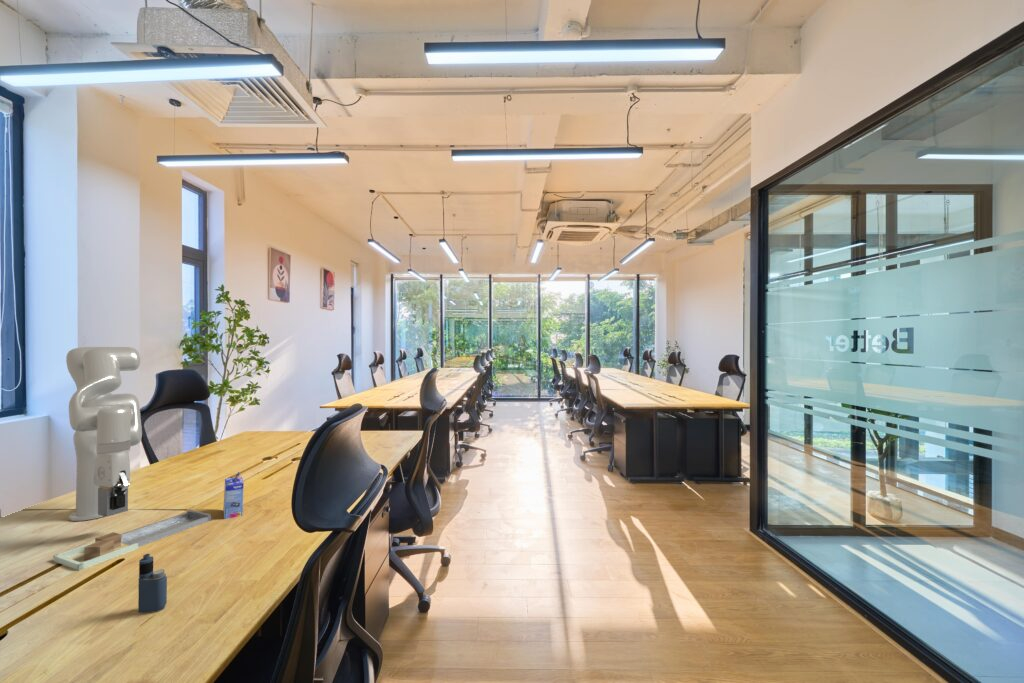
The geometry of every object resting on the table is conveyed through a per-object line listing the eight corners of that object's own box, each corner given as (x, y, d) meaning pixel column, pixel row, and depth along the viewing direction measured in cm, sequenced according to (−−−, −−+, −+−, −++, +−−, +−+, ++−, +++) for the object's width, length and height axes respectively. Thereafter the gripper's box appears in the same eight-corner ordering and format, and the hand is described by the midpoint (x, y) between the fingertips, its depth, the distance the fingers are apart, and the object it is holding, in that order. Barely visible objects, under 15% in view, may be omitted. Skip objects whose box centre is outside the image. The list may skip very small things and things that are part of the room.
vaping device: (144, 606, 91) (145, 552, 92) (169, 604, 92) (170, 551, 92) (134, 613, 89) (135, 558, 89) (160, 612, 89) (161, 556, 89)
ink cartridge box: (243, 518, 139) (244, 475, 140) (223, 522, 136) (224, 479, 136) (241, 509, 147) (242, 469, 147) (223, 513, 144) (223, 472, 144)
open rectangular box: (115, 544, 121) (115, 534, 121) (190, 518, 139) (190, 509, 139) (137, 550, 117) (137, 540, 117) (210, 523, 135) (211, 514, 135)
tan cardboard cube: (95, 552, 115) (95, 538, 115) (113, 546, 119) (113, 532, 119) (103, 554, 114) (103, 540, 114) (121, 548, 117) (121, 534, 117)
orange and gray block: (97, 514, 124) (98, 486, 124) (118, 508, 128) (118, 481, 129) (106, 516, 122) (107, 488, 122) (127, 510, 126) (127, 483, 127)
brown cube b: (84, 562, 110) (84, 547, 110) (98, 555, 114) (98, 540, 114) (99, 561, 110) (100, 547, 110) (113, 554, 114) (113, 540, 114)
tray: (53, 564, 109) (53, 555, 109) (112, 544, 121) (112, 535, 121) (78, 574, 104) (78, 564, 105) (137, 552, 116) (137, 543, 116)
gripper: (82, 448, 125) (81, 508, 125) (113, 452, 119) (112, 515, 118) (113, 443, 132) (113, 499, 132) (144, 446, 126) (143, 506, 125)
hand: (112, 506), depth 125 cm, fingers closed on orange and gray block, 5 cm apart
